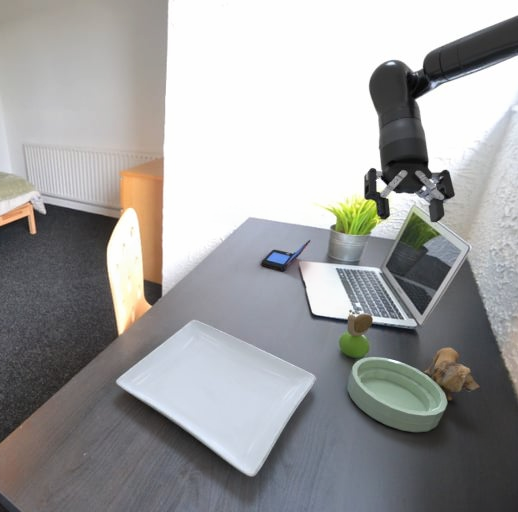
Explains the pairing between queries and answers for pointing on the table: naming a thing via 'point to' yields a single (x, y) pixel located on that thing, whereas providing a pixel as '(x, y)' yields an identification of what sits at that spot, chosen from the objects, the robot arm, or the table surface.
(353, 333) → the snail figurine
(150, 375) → the square plate
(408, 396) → the dish
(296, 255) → the handheld console
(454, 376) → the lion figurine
